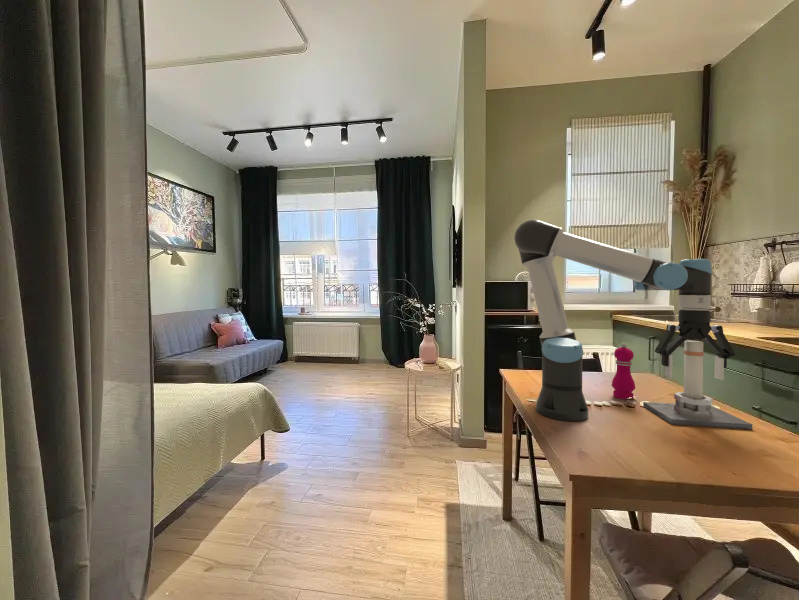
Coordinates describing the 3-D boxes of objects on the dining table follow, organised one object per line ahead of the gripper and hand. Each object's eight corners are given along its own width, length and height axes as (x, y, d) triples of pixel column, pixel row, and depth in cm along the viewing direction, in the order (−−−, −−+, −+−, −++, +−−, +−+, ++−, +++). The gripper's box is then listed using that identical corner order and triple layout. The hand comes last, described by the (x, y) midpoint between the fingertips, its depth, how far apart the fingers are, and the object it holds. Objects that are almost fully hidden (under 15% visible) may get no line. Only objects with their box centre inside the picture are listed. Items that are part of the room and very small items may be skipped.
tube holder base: (671, 424, 98) (671, 402, 98) (643, 406, 114) (643, 387, 114) (752, 429, 94) (752, 406, 94) (711, 410, 110) (711, 390, 110)
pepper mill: (639, 400, 121) (640, 344, 120) (619, 400, 121) (620, 344, 120) (626, 394, 128) (627, 341, 127) (607, 394, 128) (608, 341, 128)
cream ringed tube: (689, 414, 102) (690, 342, 102) (679, 409, 107) (681, 340, 106) (706, 415, 102) (707, 342, 101) (696, 410, 106) (697, 340, 106)
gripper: (655, 309, 102) (654, 378, 103) (752, 310, 98) (750, 382, 98) (642, 308, 110) (641, 373, 110) (732, 309, 105) (731, 376, 105)
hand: (693, 377), depth 104 cm, fingers open, 13 cm apart
